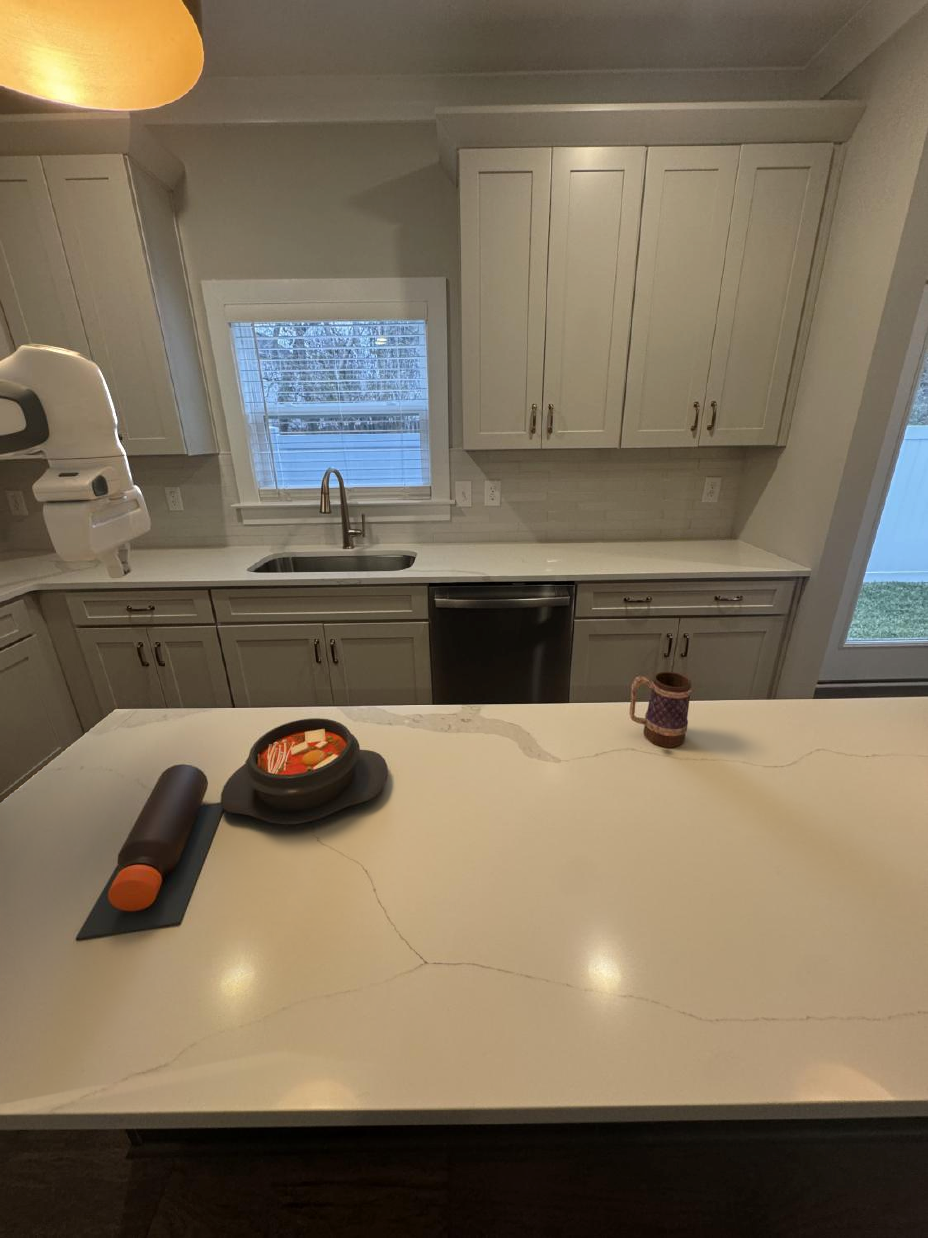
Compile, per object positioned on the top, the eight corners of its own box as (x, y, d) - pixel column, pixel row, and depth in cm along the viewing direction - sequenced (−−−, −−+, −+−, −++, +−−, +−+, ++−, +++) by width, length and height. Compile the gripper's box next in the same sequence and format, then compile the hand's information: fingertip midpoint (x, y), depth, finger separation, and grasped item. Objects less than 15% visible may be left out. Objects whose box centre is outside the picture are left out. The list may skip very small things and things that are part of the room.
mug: (678, 726, 94) (688, 668, 89) (690, 749, 87) (700, 688, 83) (621, 723, 95) (628, 666, 90) (628, 746, 88) (636, 686, 84)
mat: (76, 940, 57) (75, 938, 57) (148, 813, 75) (148, 811, 75) (180, 924, 59) (179, 922, 58) (226, 803, 77) (226, 801, 77)
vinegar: (166, 758, 74) (105, 869, 56) (214, 769, 76) (171, 879, 58) (153, 794, 76) (91, 913, 58) (201, 804, 78) (156, 921, 60)
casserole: (204, 843, 70) (190, 794, 67) (244, 758, 87) (234, 717, 84) (386, 826, 72) (382, 778, 69) (390, 747, 89) (386, 706, 86)
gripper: (105, 472, 79) (129, 558, 84) (22, 489, 60) (59, 599, 65) (149, 470, 80) (170, 556, 85) (80, 487, 61) (112, 595, 66)
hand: (121, 575), depth 75 cm, fingers closed
